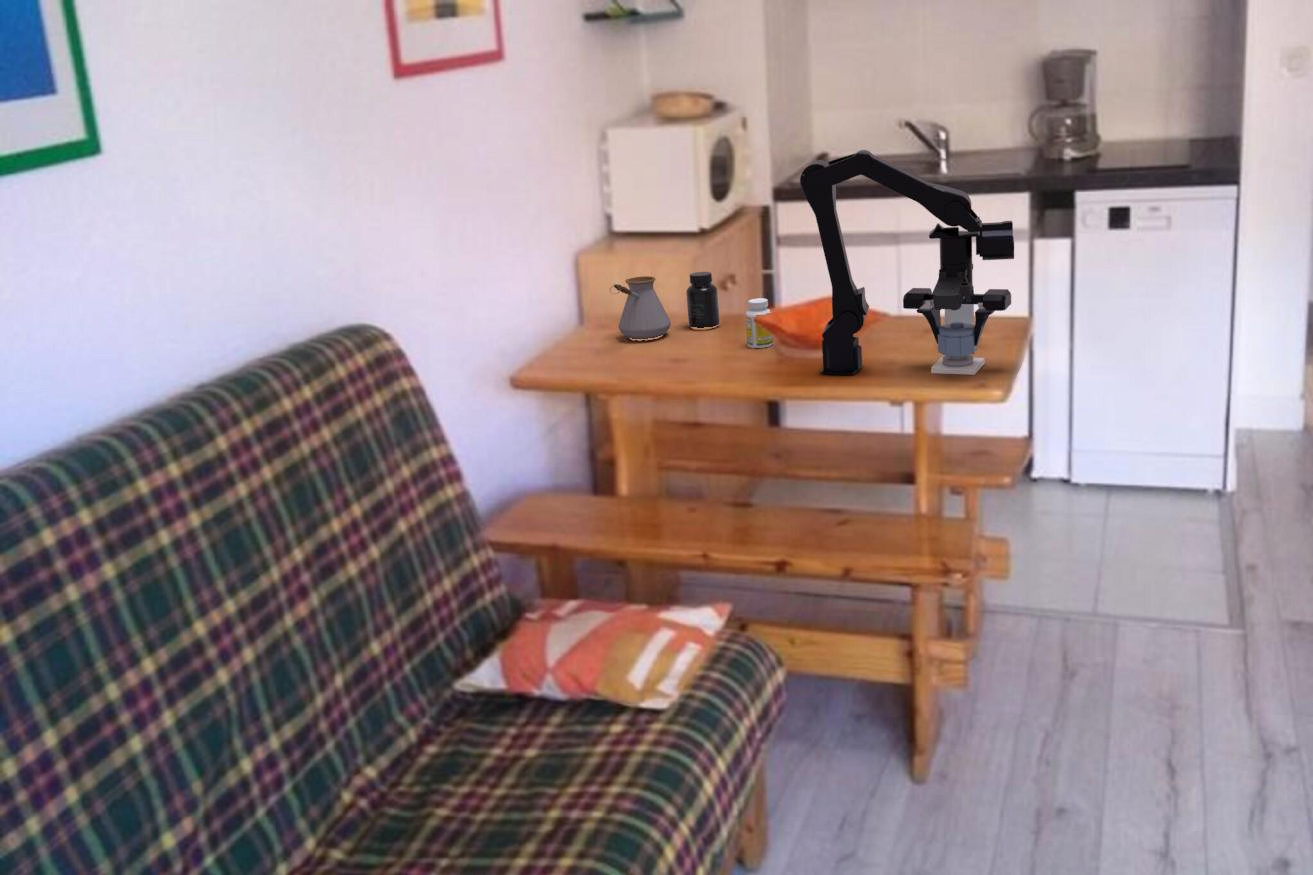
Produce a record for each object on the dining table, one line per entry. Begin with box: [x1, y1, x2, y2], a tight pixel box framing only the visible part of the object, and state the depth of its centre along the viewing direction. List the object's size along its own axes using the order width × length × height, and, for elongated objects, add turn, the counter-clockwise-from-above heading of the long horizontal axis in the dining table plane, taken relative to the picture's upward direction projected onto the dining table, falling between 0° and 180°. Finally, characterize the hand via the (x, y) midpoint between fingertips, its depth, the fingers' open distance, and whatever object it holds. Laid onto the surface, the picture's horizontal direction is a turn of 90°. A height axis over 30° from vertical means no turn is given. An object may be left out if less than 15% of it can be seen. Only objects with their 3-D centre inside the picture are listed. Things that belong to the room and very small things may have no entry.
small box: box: [944, 304, 975, 325], centre depth 269 cm, size 8×6×10 cm
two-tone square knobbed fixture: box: [930, 354, 986, 376], centre depth 254 cm, size 8×8×5 cm
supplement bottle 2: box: [745, 298, 774, 349], centre depth 282 cm, size 5×5×10 cm
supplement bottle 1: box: [686, 271, 721, 328], centre depth 302 cm, size 7×7×12 cm
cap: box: [937, 322, 978, 356], centre depth 253 cm, size 7×7×5 cm
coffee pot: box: [609, 275, 672, 339], centre depth 293 cm, size 21×12×15 cm, turn 160°
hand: (957, 344), depth 254 cm, fingers closed on cap, 6 cm apart
